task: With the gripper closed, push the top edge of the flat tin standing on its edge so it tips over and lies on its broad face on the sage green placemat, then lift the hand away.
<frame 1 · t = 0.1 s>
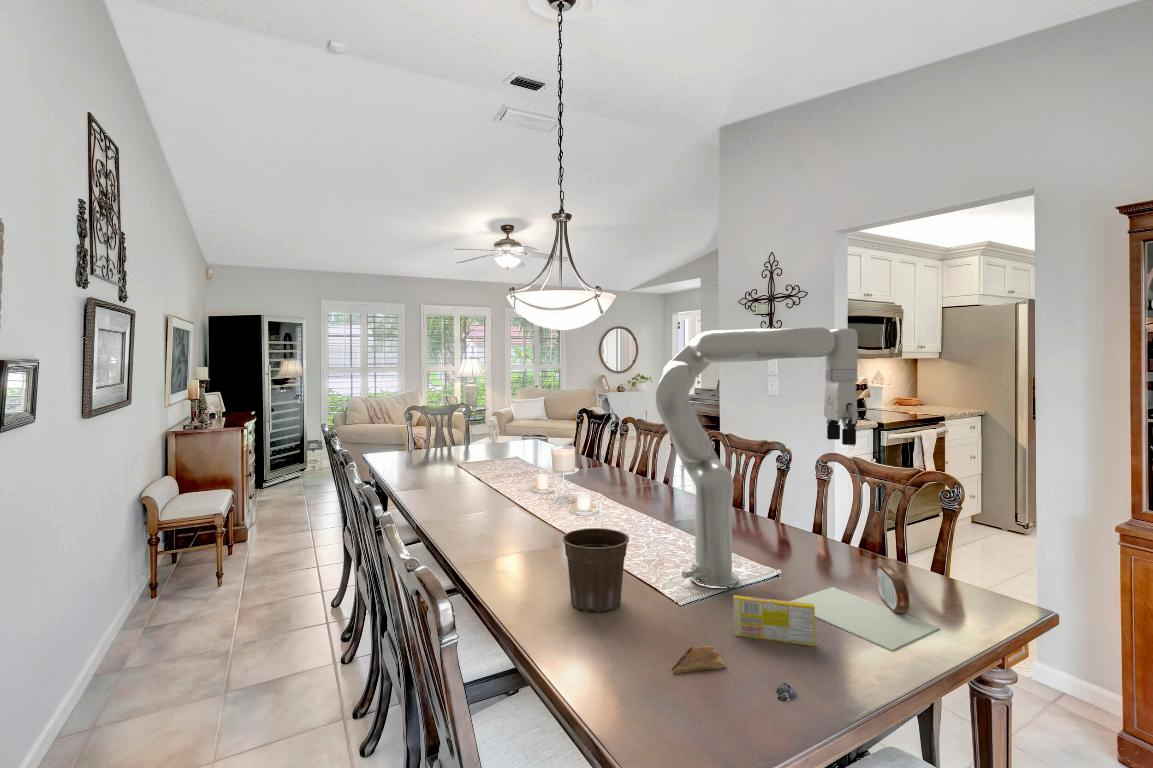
hand: (841, 441, 147), 37 cm above the table, tool pointing down, fingers open, 9 cm apart
candy box: (773, 640, 119), on the table
placemat: (858, 615, 129), on the table
tin: (890, 606, 134), on the table, touching placemat
plant pot: (596, 602, 138), on the table
shard: (702, 668, 109), on the table
blueberries: (782, 695, 100), on the table
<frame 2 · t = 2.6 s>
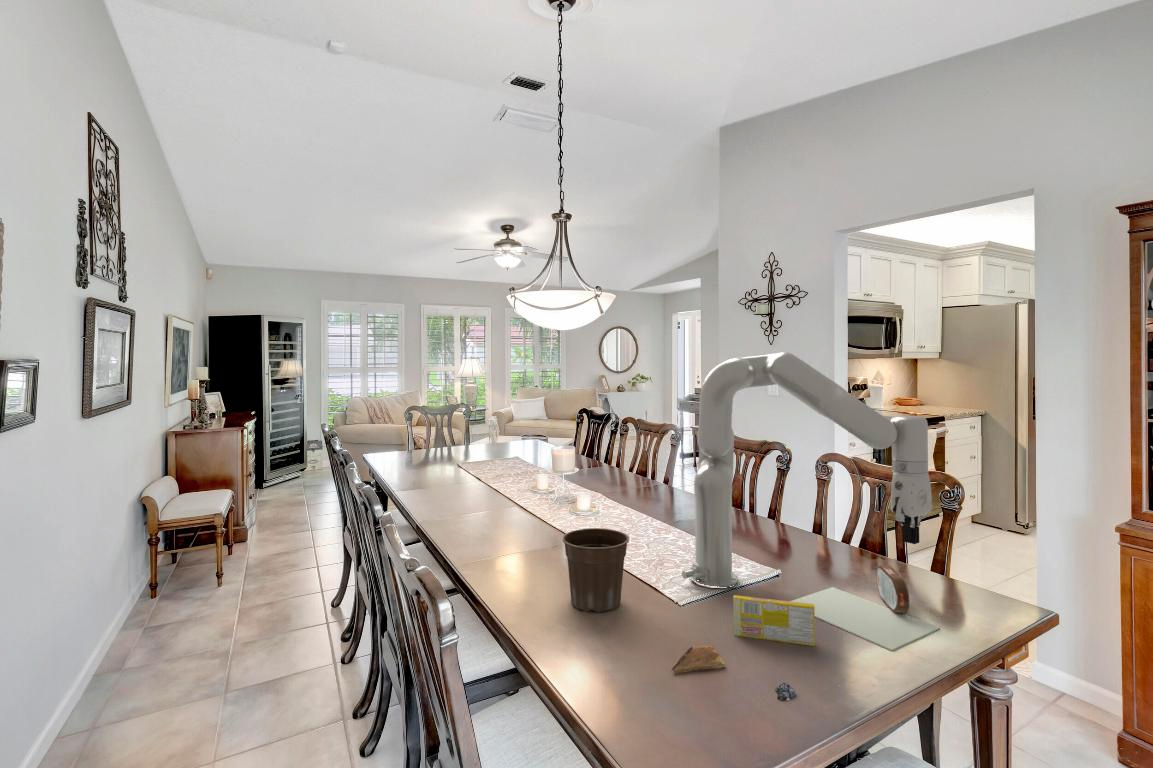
hand: (910, 542, 137), 14 cm above the table, tool pointing down, fingers closed
nothing on the table moved.
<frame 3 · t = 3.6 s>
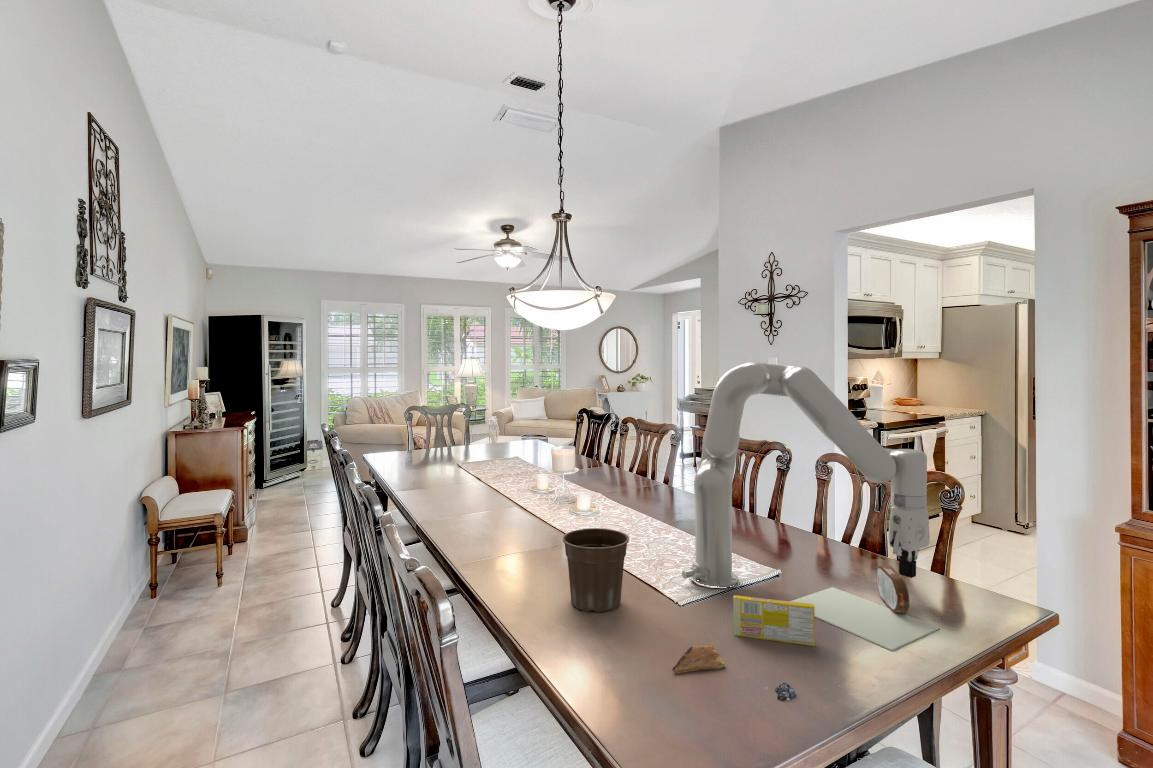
hand: (907, 575, 137), 6 cm above the table, tool pointing down, fingers closed
nothing on the table moved.
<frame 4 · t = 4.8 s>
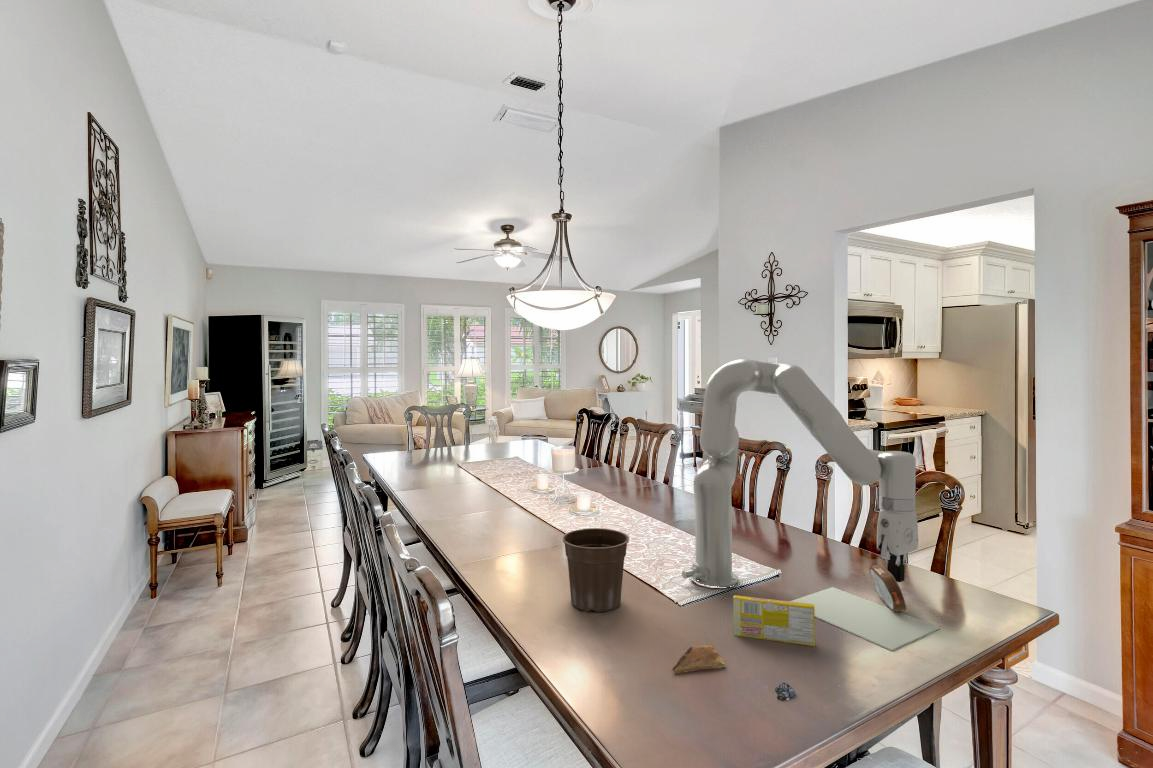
hand: (895, 579, 135), 6 cm above the table, tool pointing down, fingers closed
tin: (890, 605, 134), on the table, touching gripper, placemat
everything else where it was.
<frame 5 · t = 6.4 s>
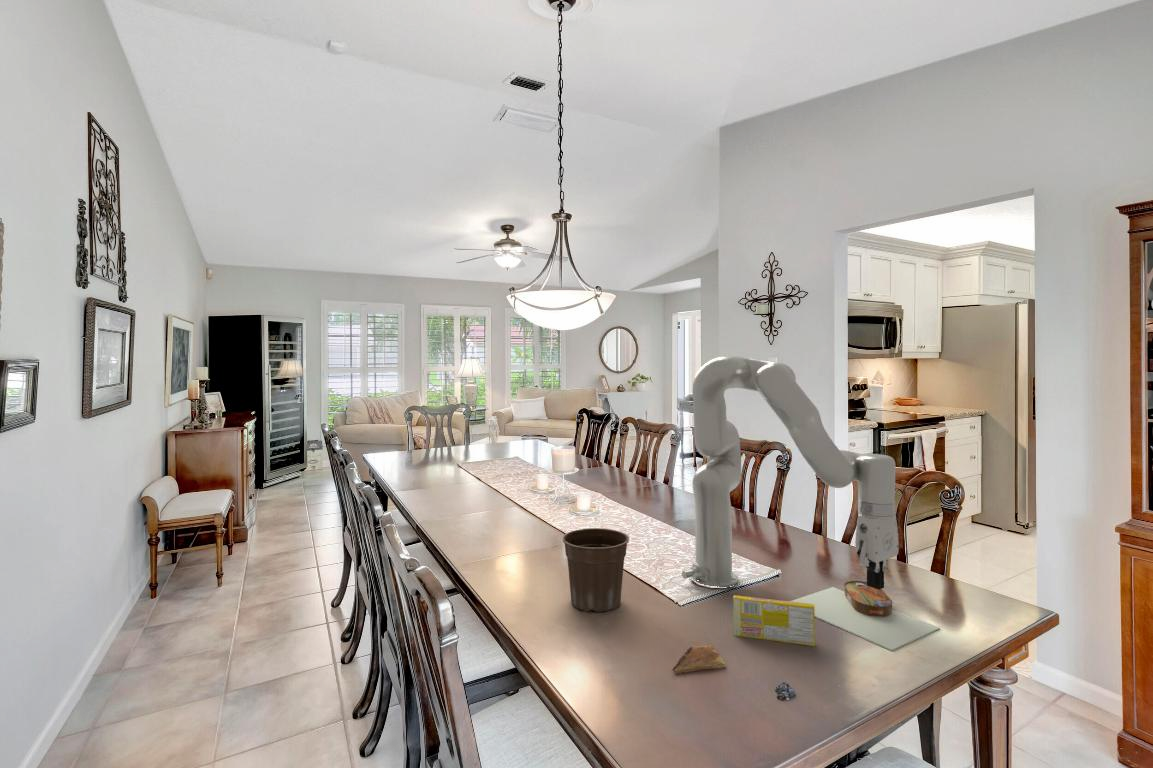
hand: (875, 586, 130), 6 cm above the table, tool pointing down, fingers closed
tin: (887, 600, 134), point 1 cm above the table, touching placemat
everything else where it was.
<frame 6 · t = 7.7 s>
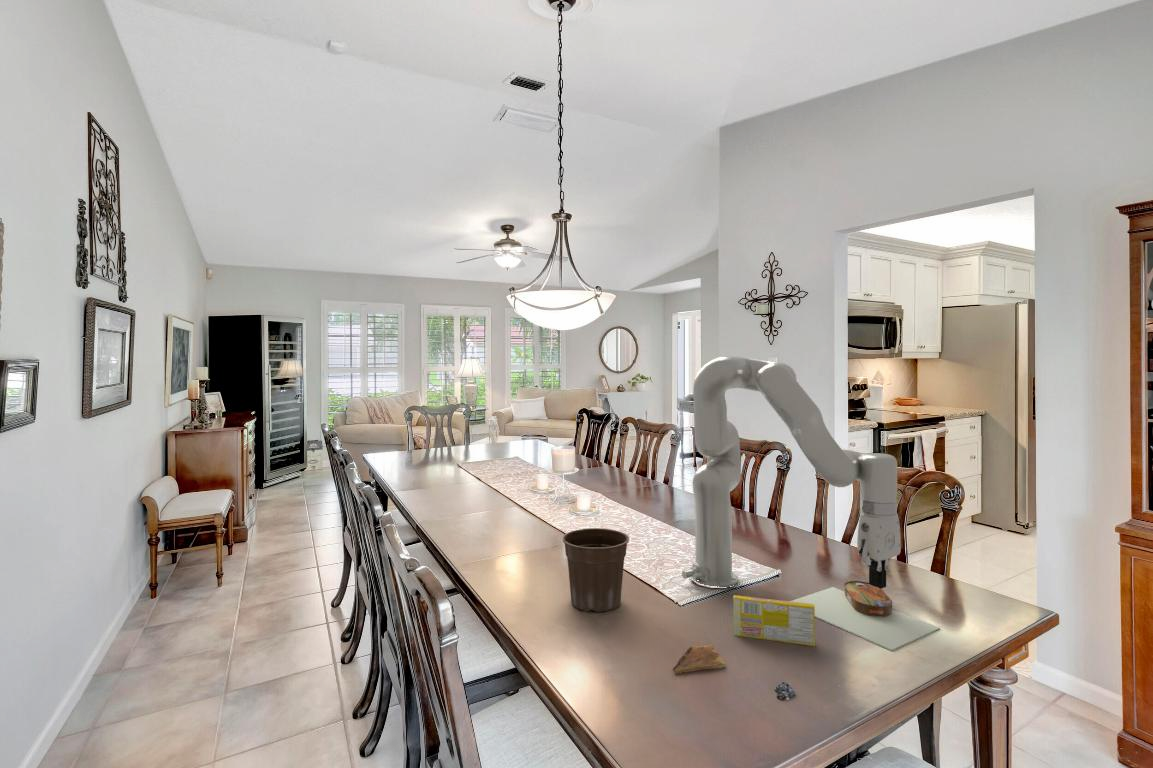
hand: (877, 585, 131), 6 cm above the table, tool pointing down, fingers closed
nothing on the table moved.
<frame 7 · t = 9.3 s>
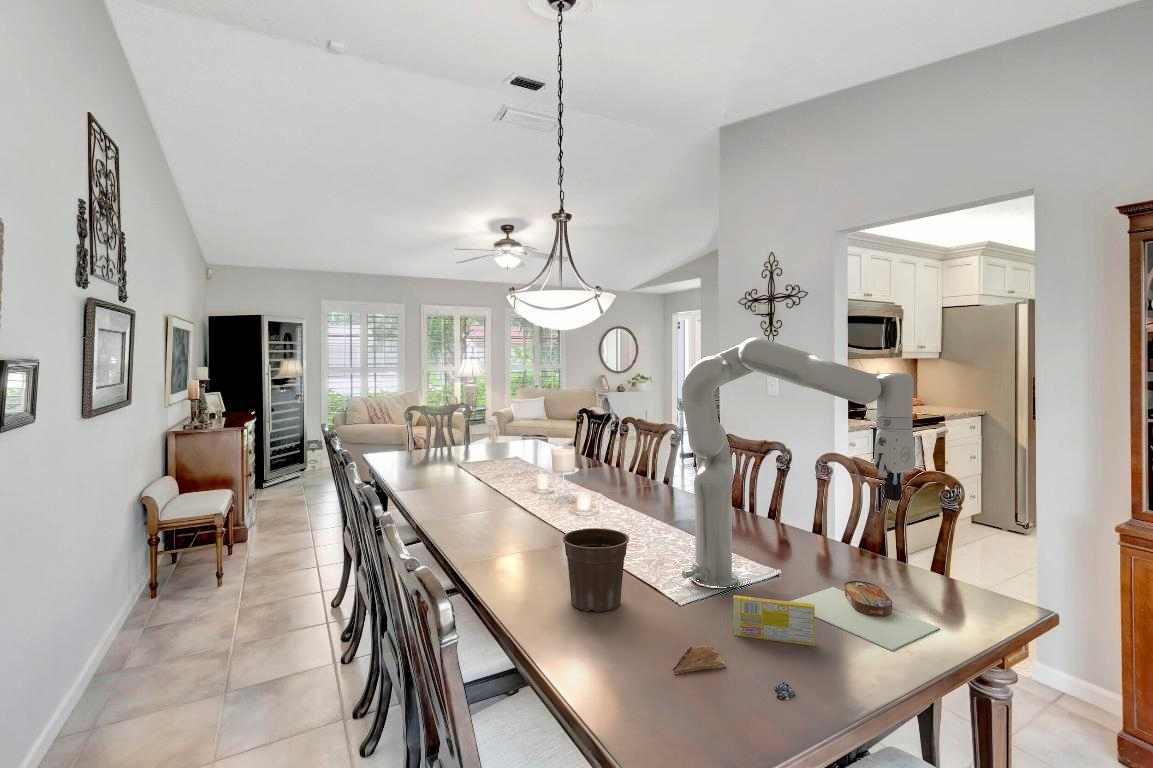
hand: (892, 499, 137), 25 cm above the table, tool pointing down, fingers closed
nothing on the table moved.
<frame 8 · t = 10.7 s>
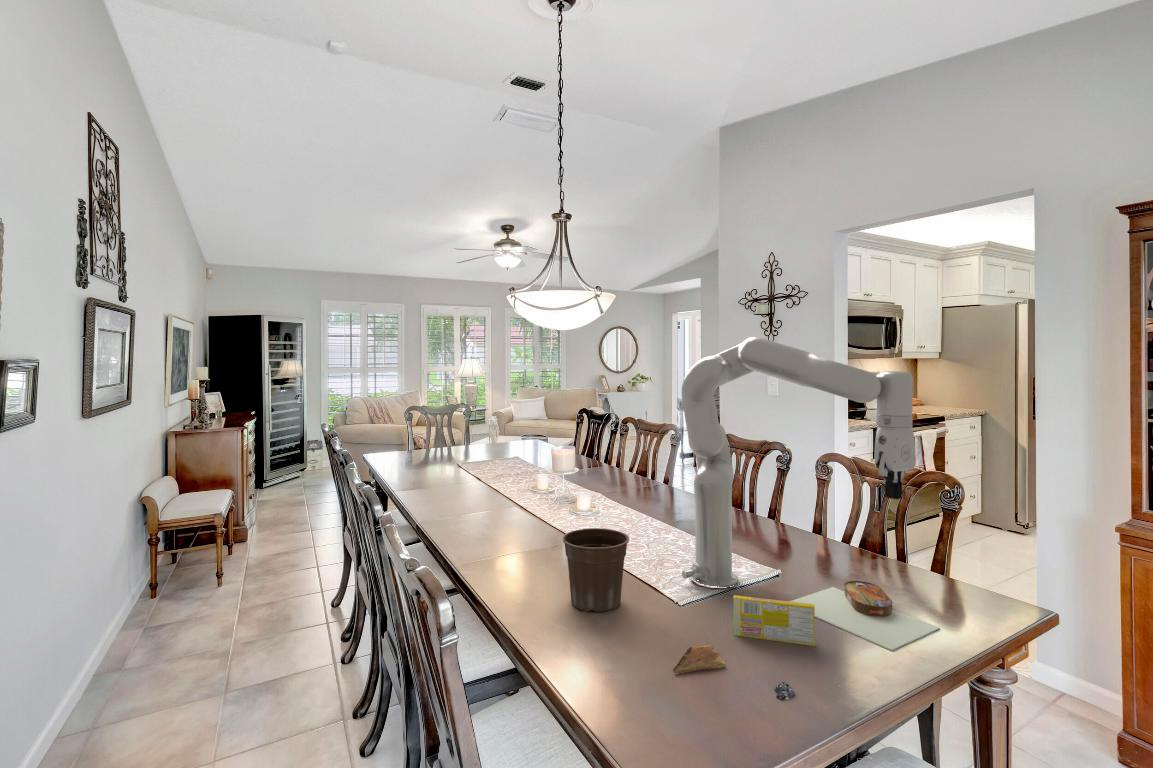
hand: (893, 497, 137), 25 cm above the table, tool pointing down, fingers closed
nothing on the table moved.
at the end: tin tilted 86°; tin inside the target area (1.1 cm from its centre), point 1.3 cm above the table; tin touching placemat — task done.
